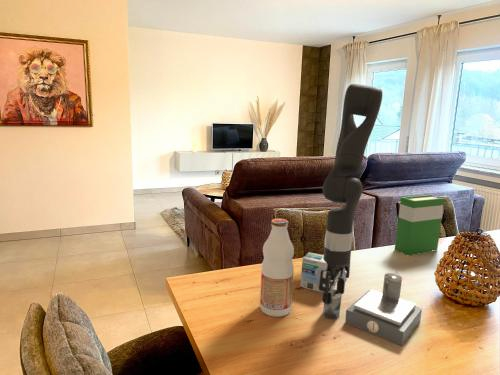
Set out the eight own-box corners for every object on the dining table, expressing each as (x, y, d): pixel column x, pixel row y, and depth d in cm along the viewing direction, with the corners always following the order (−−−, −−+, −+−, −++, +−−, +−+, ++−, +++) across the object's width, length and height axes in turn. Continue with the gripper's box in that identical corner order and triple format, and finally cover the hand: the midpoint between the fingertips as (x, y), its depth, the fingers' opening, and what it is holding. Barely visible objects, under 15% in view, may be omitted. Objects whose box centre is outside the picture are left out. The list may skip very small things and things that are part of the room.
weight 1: (322, 317, 110) (324, 296, 108) (323, 308, 114) (325, 287, 112) (339, 320, 109) (341, 299, 107) (339, 311, 113) (342, 290, 111)
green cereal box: (423, 245, 174) (430, 194, 169) (437, 250, 167) (444, 198, 162) (394, 249, 166) (400, 197, 161) (407, 255, 160) (414, 201, 155)
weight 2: (385, 293, 114) (388, 271, 113) (401, 298, 111) (404, 276, 110) (379, 298, 111) (382, 276, 109) (396, 304, 108) (398, 281, 106)
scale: (344, 323, 107) (345, 309, 106) (367, 301, 120) (369, 289, 119) (401, 346, 97) (403, 331, 96) (420, 320, 110) (422, 307, 109)
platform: (353, 308, 107) (354, 304, 107) (371, 292, 117) (372, 289, 116) (399, 326, 99) (400, 322, 98) (415, 307, 109) (415, 303, 108)
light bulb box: (299, 287, 128) (301, 257, 126) (306, 279, 134) (308, 251, 132) (330, 295, 123) (332, 264, 121) (335, 286, 129) (338, 257, 127)
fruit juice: (270, 320, 107) (275, 227, 101) (254, 305, 115) (257, 218, 109) (297, 313, 112) (303, 223, 106) (279, 298, 120) (284, 214, 114)
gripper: (337, 237, 115) (333, 286, 118) (313, 248, 104) (309, 302, 107) (360, 242, 110) (355, 294, 113) (338, 255, 99) (333, 311, 102)
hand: (333, 298), depth 110 cm, fingers open, 8 cm apart
